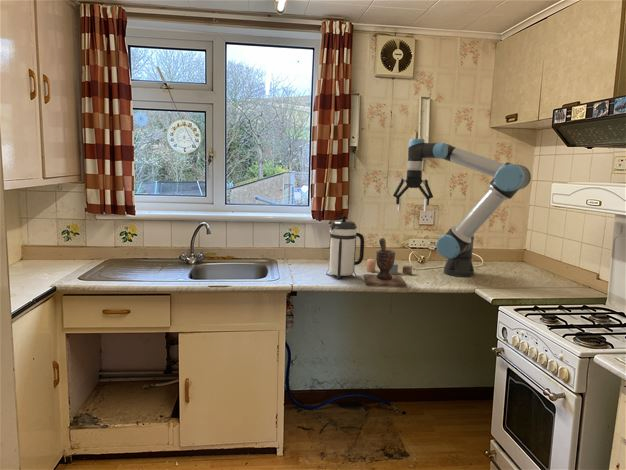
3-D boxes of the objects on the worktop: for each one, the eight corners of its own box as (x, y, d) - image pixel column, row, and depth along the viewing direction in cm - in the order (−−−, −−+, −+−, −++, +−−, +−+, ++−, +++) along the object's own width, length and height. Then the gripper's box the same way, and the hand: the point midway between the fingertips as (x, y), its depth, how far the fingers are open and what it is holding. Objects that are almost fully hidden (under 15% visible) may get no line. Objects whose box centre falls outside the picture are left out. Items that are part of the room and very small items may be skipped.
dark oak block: (411, 273, 232) (412, 266, 231) (410, 275, 228) (410, 267, 228) (403, 272, 233) (404, 265, 233) (402, 274, 230) (402, 266, 229)
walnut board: (400, 278, 221) (400, 275, 221) (406, 287, 205) (406, 284, 205) (363, 277, 221) (363, 274, 221) (366, 285, 206) (366, 282, 205)
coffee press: (354, 281, 212) (358, 218, 207) (322, 277, 217) (324, 215, 212) (362, 273, 228) (366, 214, 223) (332, 270, 233) (335, 212, 228)
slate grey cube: (393, 271, 235) (394, 262, 234) (397, 274, 230) (398, 264, 229) (384, 272, 234) (385, 262, 233) (388, 274, 229) (388, 264, 228)
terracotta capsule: (374, 270, 236) (375, 259, 235) (375, 272, 232) (376, 260, 231) (366, 269, 236) (366, 258, 235) (367, 272, 232) (367, 260, 231)
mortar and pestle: (394, 282, 207) (397, 239, 204) (375, 281, 208) (377, 238, 205) (392, 276, 218) (395, 235, 215) (374, 275, 219) (377, 234, 216)
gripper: (436, 170, 235) (433, 211, 239) (388, 168, 235) (386, 209, 238) (441, 170, 228) (438, 212, 231) (391, 169, 227) (389, 211, 230)
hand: (412, 211), depth 235 cm, fingers open, 13 cm apart
